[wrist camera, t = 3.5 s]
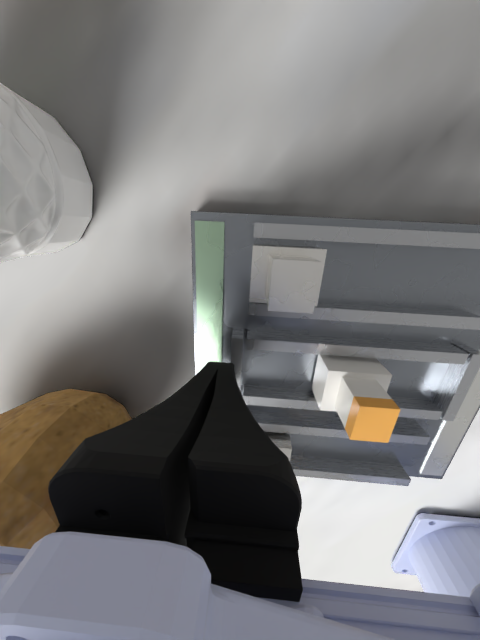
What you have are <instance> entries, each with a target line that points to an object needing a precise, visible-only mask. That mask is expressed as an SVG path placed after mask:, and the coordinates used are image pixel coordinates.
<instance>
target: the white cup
mask: <svg viewBox="0 0 480 640" xmlns="http://www.w3.org/2000/svg"><path fill="white" fill-rule="evenodd" d="M92 201H93V184H92V182H91V179H90V176H89V173H88V170H87V168H86V165H85V162H84V159H83V156H82V154H81V151H80V149H79V148H78V147H77V145H76V144H75V143H74V142H73V140H72V139H71V138H70V137H69V135H68V134H67V133H66V132H65V131H64V129H63V128H62V127H61V126H60V124H59V123H58V122H57V121H56V119H55V118H54V117H52V116H51V115H50V114H48V113H46V112H45V111H43V110H42V109H40V108H39V107H37V106H35V105H34V104H32V103H31V102H29V101H28V100H26V99H24V98H23V97H21V96H20V95H18V94H17V93H15V92H13V91H12V90H10V89H9V88H7V87H6V86H5V85H3V84H2V83H0V263H3V262H7V261H10V260H14V259H17V258H21V257H28V256H35V255H43V254H50V253H56V252H59V251H61V250H63V249H65V248H66V247H68V246H70V245H72V244H74V243H76V242H77V241H79V240H80V238H81V237H82V235H83V233H84V231H85V229H86V227H87V226H88V224H89V222H90V220H91V218H92Z"/></svg>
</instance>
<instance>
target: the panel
mask: <svg viewBox="0 0 480 640" xmlns="http://www.w3.org/2000/svg"><path fill="white" fill-rule="evenodd" d="M191 237H192V274H193V310H194V347H195V375H196V374H197V373H198V372H199V371H200V370H201V369H202V368H203V367H204V366H205V365H206V364H207V363H208V362H209V361H212V362H226V363H233V364H234V371H235V377H236V380H237V383H238V386H239V389H240V392H241V394H242V396H243V399H244V401H245V403H246V405H247V407H248V408H249V410H250V412H251V414H252V415H253V417H254V418H255V420H256V421H257V423H258V424H259V425H260V427H261V428H262V429H263V431H264V432H265V433H266V435H267V436H268V437H269V438H270V439H271V441H272V442H273V443H274V444H275V445H276V446H277V447H278V448H279V449H280V450H281V451H282V452H283V453H284V454H285V455H286V456H287V457H288V459H289V461H290V464H291V466H292V469H293V471H294V474H295V476H304V477H315V478H326V479H337V480H347V481H358V482H369V483H380V484H391V485H402V486H408V485H409V483H410V481H411V479H410V477H409V476H414V477H425V478H436V479H442V478H443V476H444V474H445V472H446V470H447V468H448V466H449V464H450V463H451V461H452V459H453V457H454V455H455V453H456V451H457V449H458V447H459V446H460V444H461V442H462V440H463V438H464V436H465V434H466V432H467V431H468V429H469V427H470V425H471V423H472V421H473V419H474V417H475V416H476V414H477V412H478V410H479V408H480V225H475V224H454V223H432V222H411V221H390V220H368V219H347V218H326V217H305V216H283V215H262V214H241V213H219V212H198V211H191ZM318 354H321V355H335V356H349V357H363V358H376V359H377V360H378V361H379V362H380V363H381V364H382V365H383V366H384V367H385V368H386V369H387V370H388V371H389V372H390V373H391V374H392V378H391V381H390V384H389V387H388V390H387V394H388V395H389V396H390V397H391V398H392V400H393V401H394V402H395V403H396V404H397V406H398V407H399V408H400V409H401V410H400V413H399V416H398V418H397V421H396V423H395V426H394V429H393V431H392V434H391V437H390V439H389V442H388V443H383V442H371V441H359V440H350V439H349V436H348V434H347V432H346V430H345V428H344V426H343V424H342V421H341V419H340V417H339V415H338V413H337V412H336V411H324V410H320V409H319V407H318V404H317V401H316V399H315V396H314V393H313V390H312V384H313V378H314V373H315V368H316V363H317V358H318Z"/></svg>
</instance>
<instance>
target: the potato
mask: <svg viewBox="0 0 480 640" xmlns="http://www.w3.org/2000/svg"><path fill="white" fill-rule="evenodd" d="M129 420H132V418H131V417H130V415H129V414H128V412H127V410H126V409H125V407H124V406H123V405H122V404H120V403H119V402H117V401H116V400H114V399H113V398H111V397H110V396H108V395H106V394H103V393H96V392H89V391H83V390H76V389H65V390H61V391H56V392H51V393H47V394H45V395H42V396H40V397H38V398H36V399H33V400H31V401H29V402H27V403H25V404H22V405H20V406H18V407H16V408H14V409H11V410H9V411H7V412H5V413H3V414H0V546H6V547H15V548H25V549H31V548H32V546H33V545H34V543H36V542H37V541H39V540H40V539H42V538H43V537H44V536H46V535H48V534H51V533H55V531H56V530H57V528H58V527H59V525H60V524H59V522H58V519H57V517H56V514H55V511H54V509H53V506H52V504H51V501H50V498H49V493H48V486H49V482H50V480H51V479H52V478H53V476H54V475H55V474H56V473H57V471H58V470H59V469H60V468H61V466H62V465H63V464H64V463H65V462H66V460H67V459H68V458H69V457H70V455H71V454H72V453H73V452H74V451H75V449H76V448H77V447H78V446H79V445H80V444H81V443H82V442H83V441H84V439H85V438H88V437H91V436H93V435H96V434H99V433H101V432H104V431H106V430H109V429H111V428H114V427H116V426H119V425H121V424H123V423H125V422H127V421H129Z"/></svg>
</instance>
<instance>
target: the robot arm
mask: <svg viewBox="0 0 480 640" xmlns="http://www.w3.org/2000/svg"><path fill="white" fill-rule="evenodd" d="M48 493H49V498H50V501H51V504H52V506H53V509H54V511H55V514H56V517H57V519H58V522H59V524H60V525H59V527H58V528H57V530H56V531H55V533H51V534H48V535H46V536H44V537H43V538H42V539H40V540H39V541H37V542H36V543H34V545H33V546H32V548H31V549H25V548H15V547H6V546H0V640H480V519H479V518H468V517H458V516H447V515H437V514H427V513H421V514H418V515H417V516H416V518H415V520H414V522H413V524H412V526H411V527H410V529H409V531H408V533H407V535H406V537H405V539H404V541H403V543H402V545H401V547H400V549H399V551H398V553H397V554H396V556H395V558H394V560H393V562H392V564H391V567H392V569H393V571H394V572H395V573H401V574H410V575H417V577H418V579H419V581H420V583H421V586H422V588H423V590H424V592H418V591H408V590H399V589H390V588H381V587H372V586H363V585H354V584H344V583H335V582H326V581H317V580H308V579H301V572H300V565H299V557H298V549H299V541H298V534H297V526H298V521H299V517H300V512H301V504H302V499H301V494H300V490H299V486H298V483H297V480H296V477H295V474H294V471H293V469H292V466H291V464H290V461H289V459H288V457H287V456H286V455H285V454H284V453H283V452H282V451H281V450H280V449H279V448H278V447H277V446H276V445H275V444H274V443H273V442H272V441H271V439H270V438H269V437H268V436H267V435H266V433H265V432H264V431H263V429H262V428H261V427H260V425H259V424H258V423H257V421H256V420H255V418H254V417H253V415H252V414H251V412H250V410H249V408H248V407H247V405H246V403H245V401H244V399H243V396H242V394H241V392H240V389H239V386H238V383H237V380H236V377H235V371H234V364H233V363H226V362H212V361H209V362H208V363H207V364H206V365H205V366H204V367H203V368H202V369H201V370H200V371H199V372H198V373H197V374H196V375H195V376H194V377H193V378H192V379H191V380H190V381H189V382H188V383H187V384H185V385H184V386H183V387H182V388H181V389H179V390H178V391H177V392H176V393H175V394H173V395H172V396H171V397H169V398H168V399H166V400H165V401H163V402H162V403H160V404H159V405H157V406H155V407H154V408H152V409H150V410H148V411H147V412H145V413H143V414H141V415H140V416H138V417H136V418H134V419H132V420H129V421H127V422H125V423H123V424H121V425H119V426H116V427H114V428H111V429H109V430H106V431H104V432H101V433H99V434H96V435H93V436H91V437H88V438H85V439H84V441H83V442H82V443H81V444H80V445H79V446H78V447H77V448H76V449H75V451H74V452H73V453H72V454H71V455H70V457H69V458H68V459H67V460H66V462H65V463H64V464H63V465H62V466H61V468H60V469H59V470H58V471H57V473H56V474H55V475H54V476H53V478H52V479H51V480H50V482H49V486H48Z"/></svg>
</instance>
